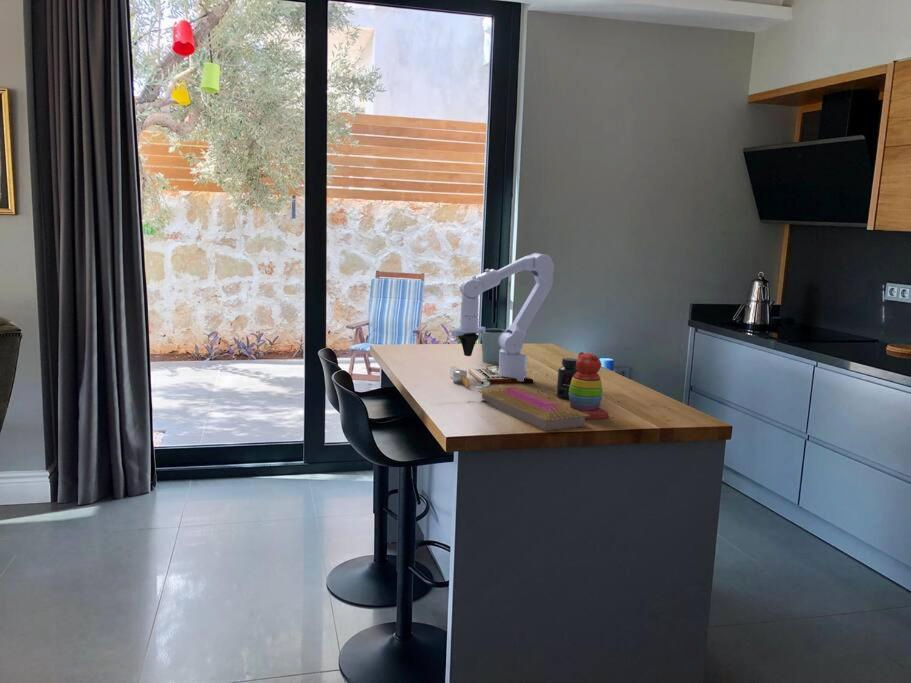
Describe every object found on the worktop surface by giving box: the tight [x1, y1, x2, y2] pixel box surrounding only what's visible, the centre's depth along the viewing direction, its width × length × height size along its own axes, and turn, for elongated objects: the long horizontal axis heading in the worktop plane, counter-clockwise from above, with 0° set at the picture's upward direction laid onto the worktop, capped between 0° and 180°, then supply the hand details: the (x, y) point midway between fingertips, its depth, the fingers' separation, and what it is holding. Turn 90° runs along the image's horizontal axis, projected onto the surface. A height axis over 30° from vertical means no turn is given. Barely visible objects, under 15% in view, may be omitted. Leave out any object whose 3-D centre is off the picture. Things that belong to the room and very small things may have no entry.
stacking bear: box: [568, 351, 609, 420], centre depth 216 cm, size 11×10×18 cm
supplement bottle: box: [556, 357, 578, 400], centre depth 237 cm, size 7×7×12 cm
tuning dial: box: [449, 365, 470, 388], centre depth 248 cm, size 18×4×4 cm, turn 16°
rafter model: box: [477, 385, 590, 431], centre depth 217 cm, size 35×14×6 cm, turn 28°
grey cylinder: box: [480, 328, 507, 365], centre depth 291 cm, size 10×10×12 cm
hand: (467, 355), depth 258 cm, fingers closed
